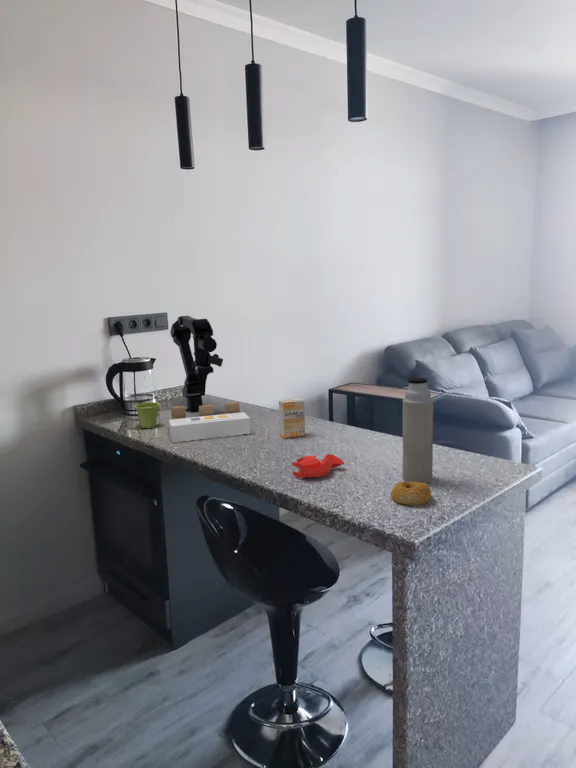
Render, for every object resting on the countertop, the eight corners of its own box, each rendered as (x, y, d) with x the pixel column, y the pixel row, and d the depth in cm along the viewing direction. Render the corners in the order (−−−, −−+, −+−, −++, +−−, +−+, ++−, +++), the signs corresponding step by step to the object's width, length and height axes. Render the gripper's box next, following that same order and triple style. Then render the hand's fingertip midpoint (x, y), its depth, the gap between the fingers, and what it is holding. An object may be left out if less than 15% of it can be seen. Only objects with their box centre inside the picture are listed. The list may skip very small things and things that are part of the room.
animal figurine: (350, 472, 167) (350, 455, 166) (312, 484, 157) (311, 466, 156) (323, 462, 176) (322, 446, 175) (285, 474, 166) (284, 457, 165)
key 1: (172, 427, 217) (170, 407, 216) (185, 426, 218) (184, 405, 217) (173, 429, 215) (171, 408, 213) (186, 427, 216) (185, 407, 215)
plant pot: (165, 426, 224) (163, 405, 222) (141, 431, 219) (139, 408, 217) (156, 422, 232) (154, 401, 230) (133, 426, 226) (131, 404, 225)
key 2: (225, 423, 220) (224, 403, 219) (238, 422, 221) (237, 401, 220) (227, 425, 218) (226, 404, 216) (240, 423, 219) (239, 403, 218)
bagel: (431, 492, 149) (431, 474, 148) (431, 509, 138) (431, 490, 137) (392, 490, 151) (391, 473, 150) (389, 507, 141) (389, 489, 140)
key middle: (200, 426, 217) (198, 406, 215) (213, 425, 218) (211, 404, 217) (200, 428, 215) (199, 407, 213) (214, 426, 216) (212, 406, 214)
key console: (168, 430, 218) (166, 413, 217) (240, 422, 226) (239, 406, 225) (172, 442, 201) (171, 424, 200) (250, 434, 209) (249, 416, 208)
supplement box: (283, 439, 201) (282, 402, 199) (279, 435, 206) (278, 399, 203) (305, 436, 204) (304, 400, 201) (301, 432, 208) (300, 397, 206)
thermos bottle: (431, 474, 161) (432, 375, 156) (433, 484, 153) (434, 381, 148) (402, 473, 162) (402, 376, 157) (402, 483, 155) (402, 381, 150)
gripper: (224, 351, 228) (227, 389, 231) (217, 346, 245) (219, 382, 248) (196, 353, 225) (199, 392, 227) (190, 347, 242) (193, 384, 245)
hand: (203, 387), depth 237 cm, fingers closed
